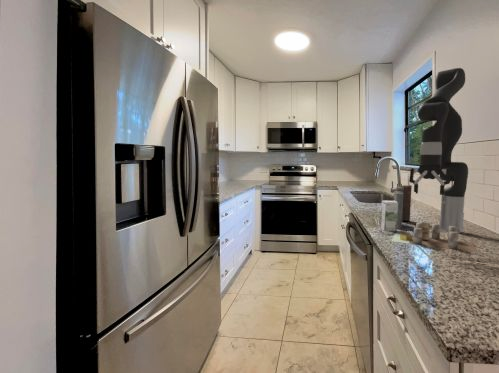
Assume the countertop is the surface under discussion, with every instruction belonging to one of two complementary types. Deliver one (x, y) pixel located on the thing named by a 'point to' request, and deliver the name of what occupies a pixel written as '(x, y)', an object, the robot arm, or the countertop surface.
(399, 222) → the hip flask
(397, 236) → the green pad
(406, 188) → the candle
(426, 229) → the light wood t-shaped block
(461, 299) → the countertop surface
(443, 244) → the board
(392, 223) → the syrup box
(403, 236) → the gold star hexagon
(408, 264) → the countertop surface
